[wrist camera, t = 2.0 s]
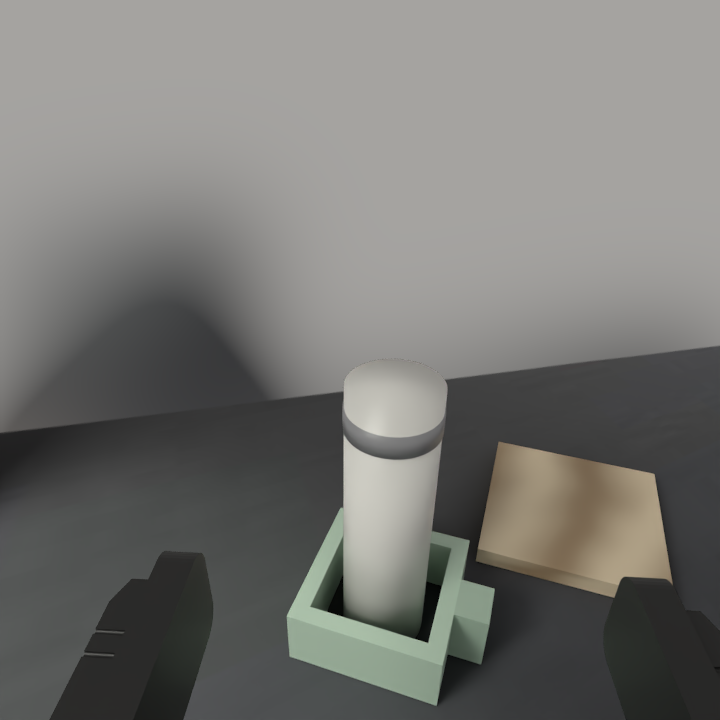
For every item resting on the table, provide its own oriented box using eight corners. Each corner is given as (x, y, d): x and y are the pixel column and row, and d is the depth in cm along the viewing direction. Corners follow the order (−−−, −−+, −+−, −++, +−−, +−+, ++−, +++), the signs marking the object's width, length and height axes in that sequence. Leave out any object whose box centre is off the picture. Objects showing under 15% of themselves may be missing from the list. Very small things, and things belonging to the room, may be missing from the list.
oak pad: (475, 561, 32) (477, 548, 32) (496, 452, 41) (498, 441, 40) (669, 612, 30) (675, 599, 29) (650, 485, 38) (654, 473, 37)
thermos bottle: (330, 638, 28) (326, 403, 21) (357, 573, 32) (361, 351, 24) (411, 664, 27) (436, 425, 20) (430, 594, 30) (457, 368, 23)
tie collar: (289, 656, 27) (286, 616, 26) (340, 545, 33) (340, 507, 32) (472, 718, 25) (481, 677, 24) (492, 587, 31) (501, 548, 29)
